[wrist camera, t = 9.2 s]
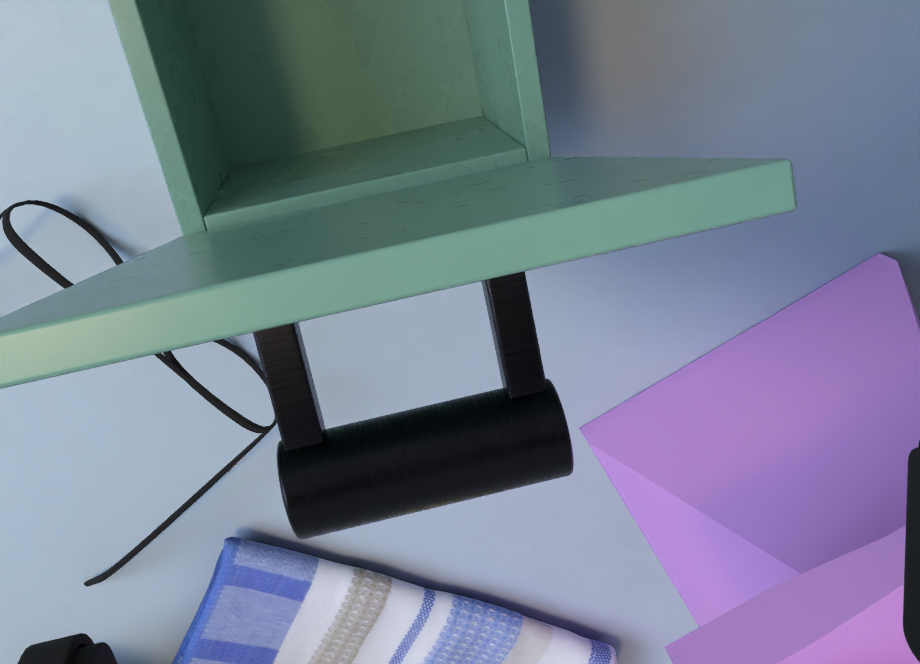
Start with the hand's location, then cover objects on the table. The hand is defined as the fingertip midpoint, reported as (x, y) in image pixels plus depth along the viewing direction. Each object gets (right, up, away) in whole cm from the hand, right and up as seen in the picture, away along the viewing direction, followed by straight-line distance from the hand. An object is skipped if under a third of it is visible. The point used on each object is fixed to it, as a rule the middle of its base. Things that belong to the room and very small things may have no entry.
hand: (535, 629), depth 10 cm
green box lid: (-3, +6, +10) cm, 13 cm away
